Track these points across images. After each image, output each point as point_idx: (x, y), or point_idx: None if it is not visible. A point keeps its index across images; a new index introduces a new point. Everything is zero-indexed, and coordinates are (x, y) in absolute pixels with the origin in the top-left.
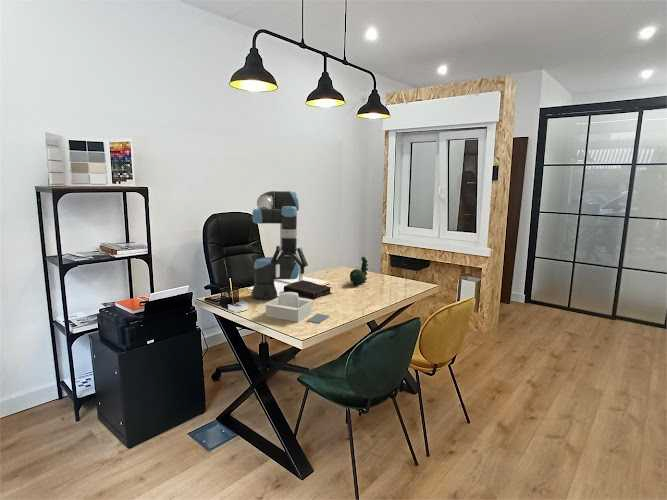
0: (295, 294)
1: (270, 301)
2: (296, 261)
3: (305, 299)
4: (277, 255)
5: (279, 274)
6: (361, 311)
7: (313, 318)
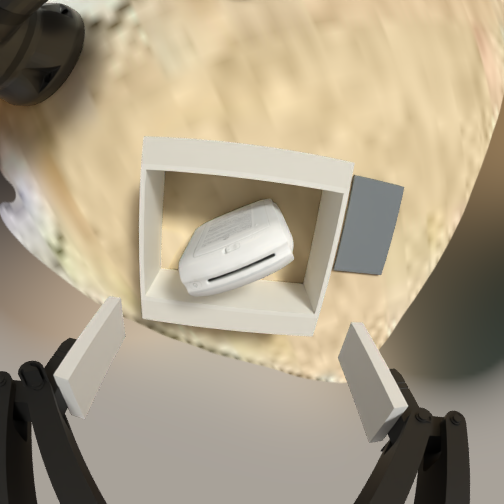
0: (281, 266)
1: (144, 270)
2: (356, 500)
3: (308, 169)
4: (14, 475)
5: (113, 312)
6: (478, 106)
7: (354, 239)
